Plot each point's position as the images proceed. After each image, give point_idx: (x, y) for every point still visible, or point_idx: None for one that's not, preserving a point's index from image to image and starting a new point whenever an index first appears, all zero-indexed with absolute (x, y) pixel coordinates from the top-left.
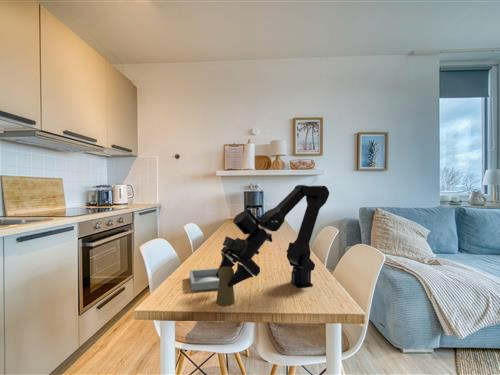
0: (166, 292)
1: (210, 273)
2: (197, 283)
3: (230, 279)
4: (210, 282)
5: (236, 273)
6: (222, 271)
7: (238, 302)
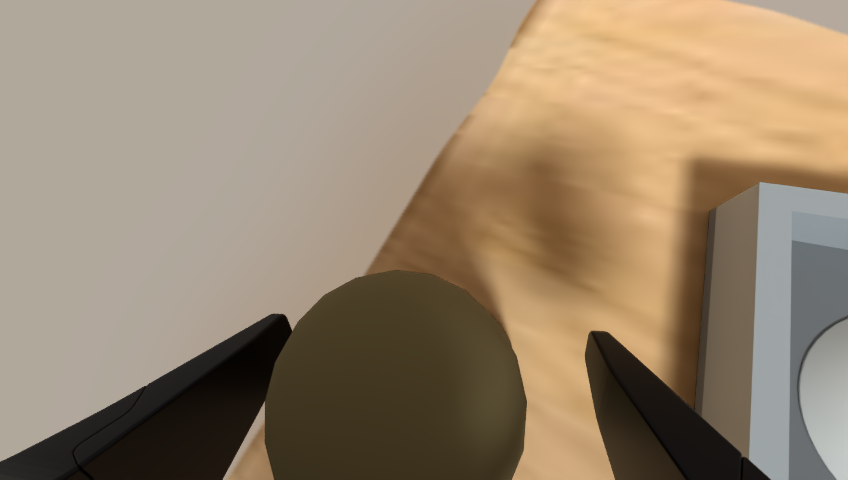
0: (766, 69)
1: None
2: (755, 230)
3: (233, 349)
4: (747, 354)
5: (87, 421)
6: (327, 299)
7: None
